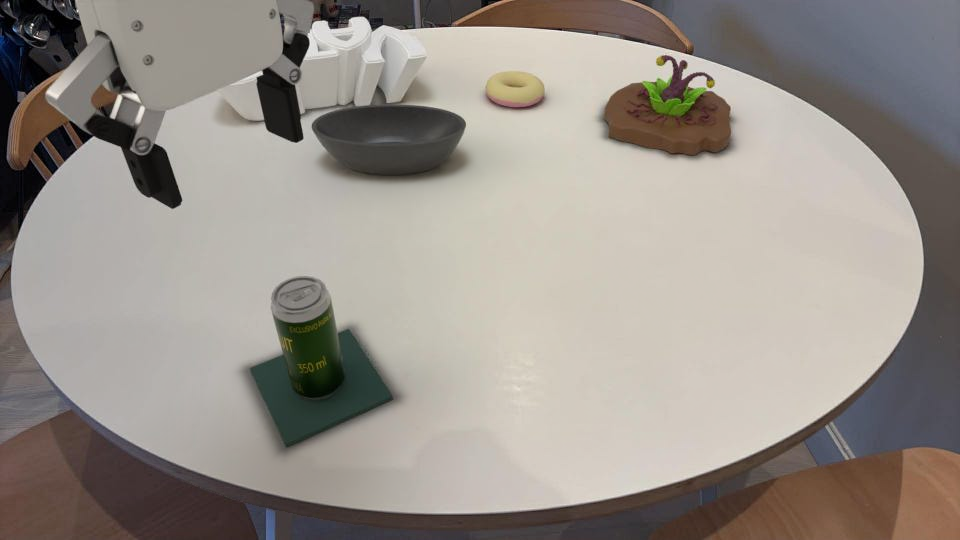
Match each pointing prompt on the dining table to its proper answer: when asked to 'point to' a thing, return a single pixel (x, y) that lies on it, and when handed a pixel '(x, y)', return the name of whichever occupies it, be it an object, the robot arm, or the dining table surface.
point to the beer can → (308, 336)
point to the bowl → (390, 137)
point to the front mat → (314, 416)
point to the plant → (670, 114)
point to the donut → (515, 89)
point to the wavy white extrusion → (343, 68)
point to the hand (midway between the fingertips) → (228, 165)
